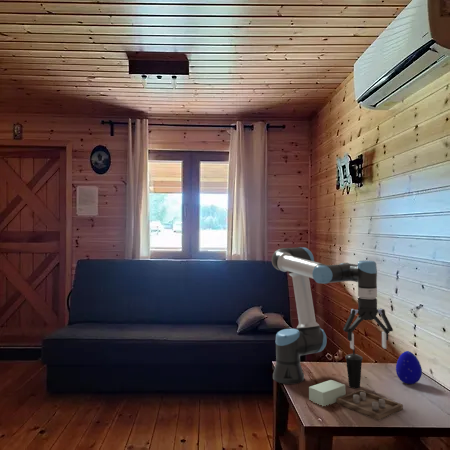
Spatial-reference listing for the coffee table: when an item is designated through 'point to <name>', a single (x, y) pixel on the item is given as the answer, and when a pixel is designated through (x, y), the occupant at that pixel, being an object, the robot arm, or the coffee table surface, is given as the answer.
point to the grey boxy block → (326, 392)
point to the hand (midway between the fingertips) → (368, 348)
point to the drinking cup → (354, 369)
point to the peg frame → (370, 404)
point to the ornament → (408, 368)
